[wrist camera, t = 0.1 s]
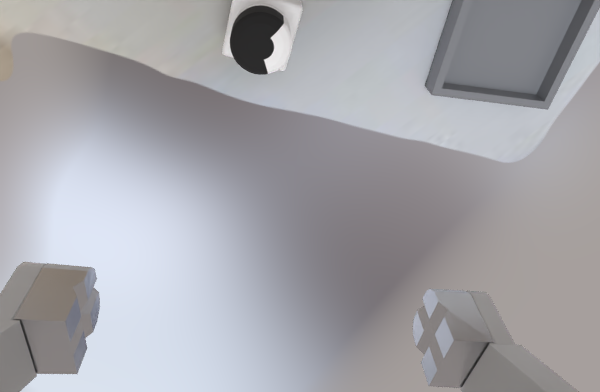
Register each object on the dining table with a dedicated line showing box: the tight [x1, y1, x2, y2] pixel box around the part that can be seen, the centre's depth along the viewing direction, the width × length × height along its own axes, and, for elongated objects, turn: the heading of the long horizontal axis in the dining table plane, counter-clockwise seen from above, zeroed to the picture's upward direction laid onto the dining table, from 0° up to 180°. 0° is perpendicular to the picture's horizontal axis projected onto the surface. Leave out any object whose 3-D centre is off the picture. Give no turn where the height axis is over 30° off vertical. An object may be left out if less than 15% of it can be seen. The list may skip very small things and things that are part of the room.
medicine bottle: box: [222, 0, 303, 74], centre depth 48 cm, size 7×7×12 cm
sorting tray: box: [425, 0, 600, 109], centre depth 55 cm, size 16×16×3 cm
